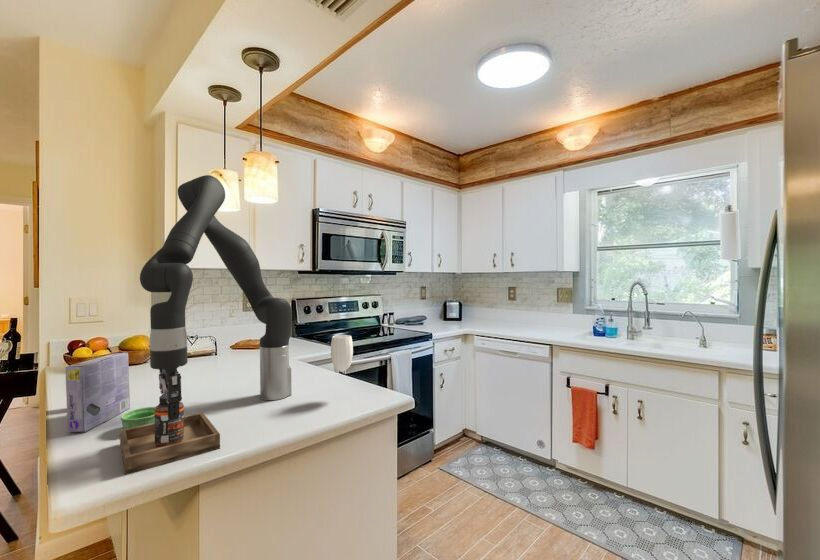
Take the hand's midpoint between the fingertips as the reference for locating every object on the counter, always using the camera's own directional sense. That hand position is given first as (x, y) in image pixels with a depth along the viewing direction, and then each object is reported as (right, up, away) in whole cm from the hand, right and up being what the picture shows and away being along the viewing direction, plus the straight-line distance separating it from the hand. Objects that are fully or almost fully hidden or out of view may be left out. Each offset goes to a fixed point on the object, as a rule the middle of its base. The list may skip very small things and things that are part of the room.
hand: (170, 413), depth 90 cm
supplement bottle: (0, -7, 0) cm, 7 cm away
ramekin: (-14, -8, +11) cm, 20 cm away
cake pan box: (-30, -8, +17) cm, 35 cm away
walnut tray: (0, -8, 0) cm, 8 cm away
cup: (+35, -8, +34) cm, 50 cm away
